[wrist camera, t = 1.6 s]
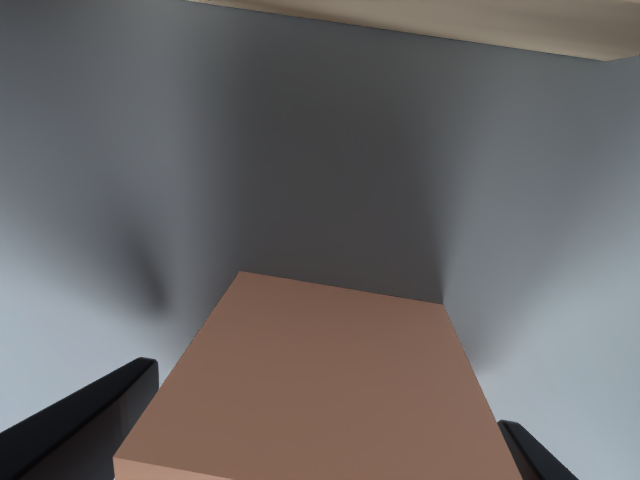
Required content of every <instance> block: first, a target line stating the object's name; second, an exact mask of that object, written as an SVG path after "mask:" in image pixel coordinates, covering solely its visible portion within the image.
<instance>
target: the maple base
mask: <svg viewBox="0 0 640 480" xmlns="http://www.w3.org/2000/svg"><path fill="white" fill-rule="evenodd" d="M186 1H193V2H199V3H206V4H213V5H220V6H227V7H234V8H241V9H248V10H255V11H262V12H269V13H276V14H283V15H290V16H297V17H303V18H310V19H317V20H324V21H331V22H338V23H345V24H352V25H359V26H366V27H373V28H380V29H387V30H394V31H401V32H407V33H414V34H421V35H428V36H435V37H442V38H449V39H456V40H463V41H470V42H477V43H484V44H491V45H498V46H505V47H512V48H518V49H525V50H532V51H539V52H546V53H553V54H560V55H567V56H574V57H581V58H588V59H595V60H602V61H611V60H617V59H623V58H629V57H634V56H640V0H186Z"/></svg>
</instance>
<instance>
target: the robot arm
mask: <svg viewBox="0 0 640 480" xmlns="http://www.w3.org/2000/svg"><path fill="white" fill-rule="evenodd" d="M158 389H159V372H158V362H157V361H156V360H155V359H150V358H144V357H140V358H137V359H135V360H133V361H131V362H129V363H128V364H126V365H124V366H122V367H120V368H118V369H117V370H115V371H113V372H111V373H109V374H107V375H106V376H104V377H102V378H100V379H98V380H96V381H95V382H93V383H91V384H89V385H87V386H85V387H84V388H82V389H80V390H78V391H76V392H74V393H73V394H71V395H69V396H67V397H65V398H63V399H62V400H60V401H58V402H56V403H54V404H52V405H51V406H49V407H47V408H45V409H43V410H41V411H40V412H38V413H36V414H34V415H32V416H30V417H29V418H27V419H25V420H23V421H21V422H19V423H18V424H16V425H14V426H12V427H10V428H8V429H7V430H5V431H3V432H1V433H0V480H113V479H114V478H115V473H114V464H113V456H114V455H115V453H116V452H117V450H118V449H119V447H120V446H121V444H122V443H123V441H124V440H125V439H126V437H127V436H128V434H129V433H130V431H131V430H132V428H133V427H134V425H135V424H136V422H137V421H138V419H139V418H140V417H141V415H142V414H143V412H144V411H145V409H146V408H147V406H148V405H149V403H150V402H151V400H152V399H153V398H154V396H155V395H156V393H157V392H158ZM497 424H498V426H499V429H500V431H501V433H502V435H503V437H504V440H505V442H506V444H507V446H508V448H509V450H510V453H511V455H512V457H513V459H514V461H515V464H516V466H517V468H518V470H519V472H520V475H521V477H522V479H523V480H579V479H578V478H577V477H575V476H574V475H573V474H572V473H571V472H570V471H569V470H568V469H567V468H566V467H565V466H564V465H563V464H562V463H561V462H560V461H559V460H557V459H556V458H555V457H554V456H553V455H552V454H551V453H550V452H549V451H548V450H547V449H546V448H545V447H544V446H543V445H542V444H541V443H539V442H538V441H537V440H536V439H535V438H534V437H533V436H532V435H531V434H530V433H529V432H528V431H527V430H526V429H525V428H524V427H523V426H521V425H520V424H519V423H517V422H512V421H507V420H500V421H498V422H497Z"/></svg>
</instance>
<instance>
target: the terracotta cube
mask: <svg viewBox="0 0 640 480" xmlns="http://www.w3.org/2000/svg"><path fill="white" fill-rule="evenodd" d="M113 464H114V473H115V480H523V479H522V477H521V475H520V472H519V470H518V468H517V466H516V464H515V461H514V459H513V457H512V455H511V453H510V450H509V448H508V446H507V444H506V442H505V440H504V437H503V435H502V433H501V431H500V429H499V426H498V424H497V422H496V420H495V418H494V415H493V413H492V411H491V409H490V407H489V405H488V402H487V400H486V398H485V396H484V394H483V391H482V389H481V387H480V385H479V383H478V380H477V378H476V376H475V374H474V372H473V369H472V367H471V365H470V363H469V361H468V359H467V356H466V354H465V352H464V350H463V348H462V345H461V343H460V341H459V339H458V337H457V334H456V332H455V330H454V328H453V326H452V323H451V321H450V319H449V317H448V315H447V313H446V310H445V308H444V306H443V305H442V304H436V303H430V302H424V301H418V300H412V299H406V298H400V297H394V296H388V295H382V294H376V293H370V292H364V291H358V290H352V289H346V288H340V287H334V286H328V285H322V284H316V283H310V282H304V281H298V280H292V279H286V278H280V277H274V276H268V275H262V274H256V273H250V272H244V271H239V273H238V274H237V276H236V277H235V279H234V280H233V282H232V283H231V285H230V286H229V288H228V289H227V291H226V292H225V293H224V295H223V296H222V298H221V299H220V301H219V302H218V304H217V305H216V307H215V308H214V310H213V311H212V313H211V314H210V315H209V317H208V318H207V320H206V321H205V323H204V324H203V326H202V327H201V329H200V330H199V332H198V333H197V334H196V336H195V337H194V339H193V340H192V342H191V343H190V345H189V346H188V348H187V349H186V351H185V352H184V354H183V355H182V356H181V358H180V359H179V361H178V362H177V364H176V365H175V367H174V368H173V370H172V371H171V373H170V374H169V376H168V377H167V378H166V380H165V381H164V383H163V384H162V386H161V387H160V389H159V390H158V392H157V393H156V395H155V396H154V398H153V399H152V400H151V402H150V403H149V405H148V406H147V408H146V409H145V411H144V412H143V414H142V415H141V417H140V418H139V419H138V421H137V422H136V424H135V425H134V427H133V428H132V430H131V431H130V433H129V434H128V436H127V437H126V439H125V440H124V441H123V443H122V444H121V446H120V447H119V449H118V450H117V452H116V453H115V455H114V456H113Z"/></svg>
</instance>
